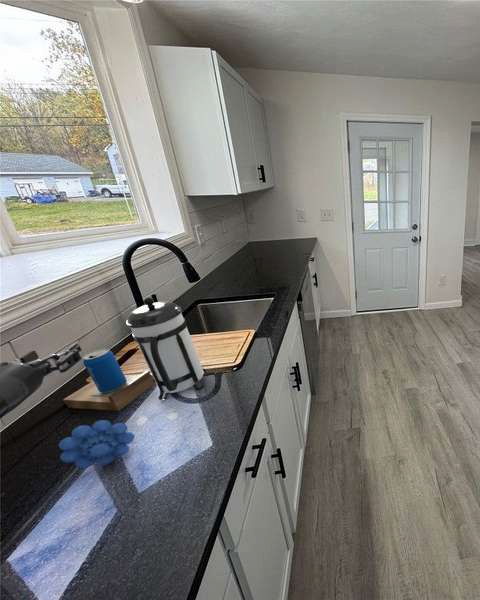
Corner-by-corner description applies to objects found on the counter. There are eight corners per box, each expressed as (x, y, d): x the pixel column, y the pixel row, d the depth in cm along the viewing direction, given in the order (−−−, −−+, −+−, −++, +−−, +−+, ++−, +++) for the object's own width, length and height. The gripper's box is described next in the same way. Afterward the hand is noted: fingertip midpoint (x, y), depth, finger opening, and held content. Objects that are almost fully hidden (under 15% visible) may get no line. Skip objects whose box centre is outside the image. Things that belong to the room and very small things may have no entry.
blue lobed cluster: (77, 492, 66) (48, 451, 61) (74, 474, 70) (47, 434, 65) (144, 456, 74) (122, 417, 69) (138, 441, 78) (117, 403, 73)
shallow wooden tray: (67, 407, 92) (59, 394, 90) (108, 381, 103) (101, 369, 101) (119, 411, 89) (111, 397, 87) (155, 383, 100) (149, 371, 98)
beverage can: (94, 393, 92) (74, 359, 87) (117, 379, 98) (100, 346, 93) (110, 395, 91) (91, 361, 86) (133, 381, 96) (116, 348, 92)
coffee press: (140, 398, 94) (95, 307, 82) (191, 367, 107) (158, 286, 95) (178, 411, 87) (134, 315, 75) (227, 377, 100) (196, 291, 88)
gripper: (36, 367, 63) (84, 331, 77) (-57, 384, 59) (11, 343, 74) (55, 397, 66) (98, 356, 80) (-33, 415, 62) (28, 369, 76)
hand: (56, 350), depth 77 cm, fingers open, 8 cm apart
